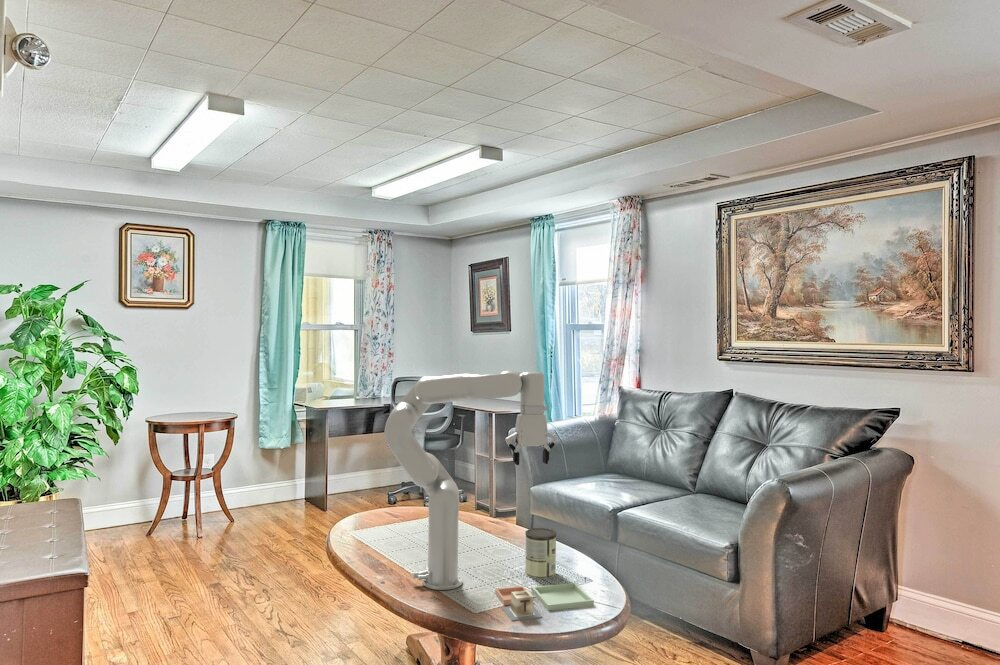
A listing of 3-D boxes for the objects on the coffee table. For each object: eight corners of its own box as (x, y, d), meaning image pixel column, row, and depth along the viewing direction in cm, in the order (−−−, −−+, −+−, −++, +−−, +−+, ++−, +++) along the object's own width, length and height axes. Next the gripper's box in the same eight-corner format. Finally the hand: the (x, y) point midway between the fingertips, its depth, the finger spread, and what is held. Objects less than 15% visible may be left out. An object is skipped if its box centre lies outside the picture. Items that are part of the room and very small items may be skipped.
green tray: (547, 612, 202) (547, 605, 201) (531, 593, 215) (531, 586, 215) (593, 607, 206) (593, 600, 206) (574, 589, 219) (574, 582, 219)
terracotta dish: (503, 606, 205) (503, 600, 205) (495, 595, 213) (495, 588, 213) (532, 603, 207) (532, 597, 207) (523, 592, 216) (523, 586, 216)
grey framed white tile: (511, 622, 194) (511, 619, 194) (502, 609, 202) (502, 607, 202) (542, 619, 196) (542, 616, 196) (531, 606, 205) (531, 604, 205)
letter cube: (516, 616, 196) (516, 598, 196) (510, 609, 201) (511, 591, 201) (533, 614, 198) (533, 596, 198) (527, 607, 203) (527, 589, 203)
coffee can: (525, 568, 237) (526, 527, 237) (555, 570, 236) (556, 528, 236) (523, 579, 227) (524, 536, 227) (555, 581, 226) (556, 537, 226)
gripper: (553, 408, 230) (552, 460, 230) (502, 409, 225) (501, 462, 225) (561, 411, 223) (560, 464, 223) (509, 412, 218) (508, 467, 218)
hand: (531, 463), depth 224 cm, fingers open, 9 cm apart
